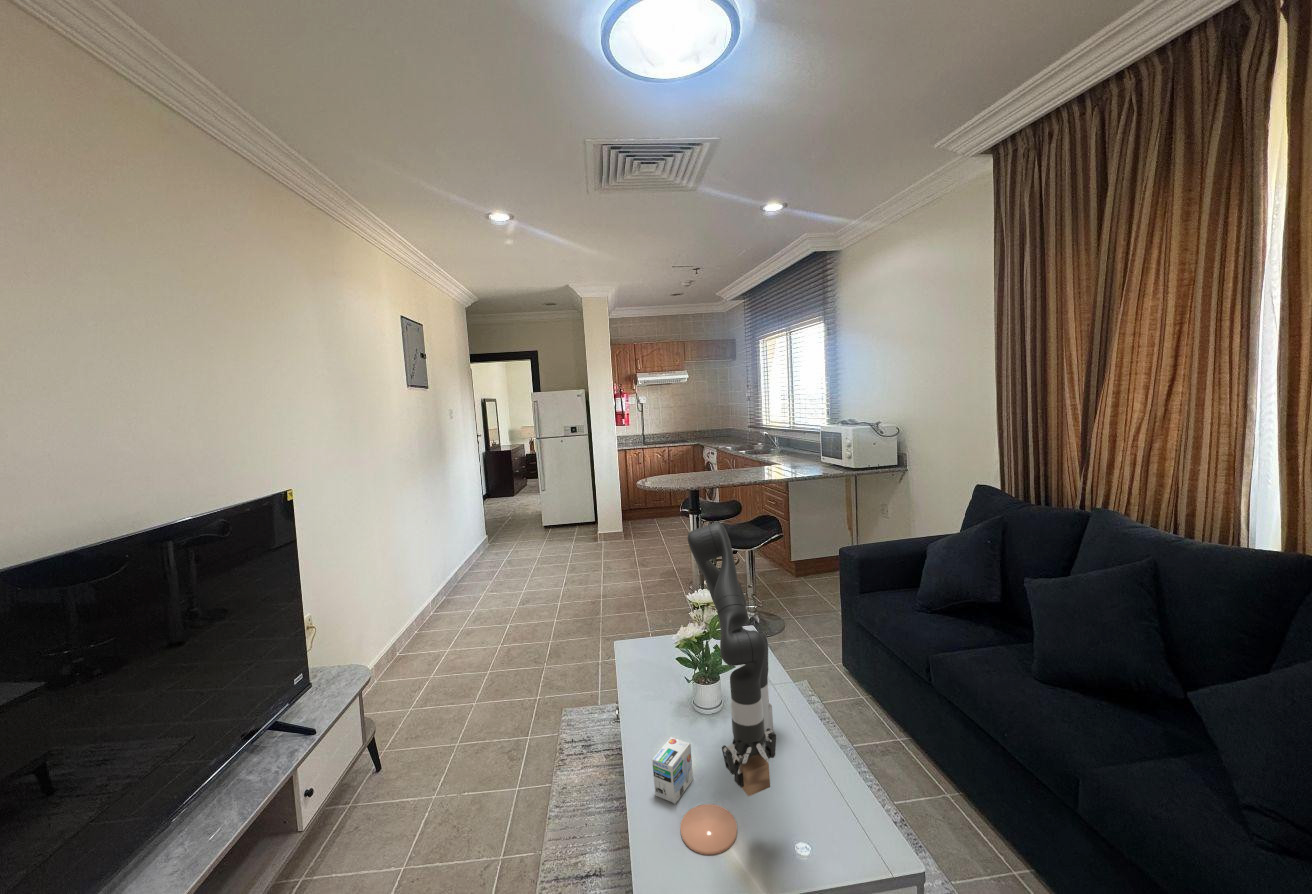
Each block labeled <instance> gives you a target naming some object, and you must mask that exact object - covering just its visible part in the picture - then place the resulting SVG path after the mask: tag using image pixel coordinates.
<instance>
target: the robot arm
mask: <svg viewBox="0 0 1312 894" xmlns="http://www.w3.org/2000/svg"><path fill="white" fill-rule="evenodd" d="M687 543H688V546H689V547H688V548H689V549H690V552H691V554H692V557H693V558H694V560H695V562H696V564H697V567H698V568H699V570H700V572H701V574H702V576H703V578H704V581H705V583H706V586H707V588H708V592H709V594H710V597H711V600H712V602H713V605H714V607H715V610H716V613H717V616H718V621H719V628H720V639H719V640H720V642H719V645H720V646H719V653H720V657H721V659H722V661H723V662H724V663H725V664H726V665H728V666H730V667H737V666H741V667H737V668H736V669H734V670H733V671H732V672H731V674H730V675H729V685H730V699H731V700H730V714H731V729H732V735H733V740H732V743H731V744H730V745H728V746H727V745H726V744H724V745H722V746H721V751H722V756H723V760H724V764H725V768H726V769H727V770H728V771H729V773H730V774H731V775H734V778H733V779H734V782H735V783H736V785H737V786H739V787H740V788H741V787H744V782H743V773H742V770H743V767H744V765H746V763H747V759H748V758H750V757H751V756H754V755H758V754H759V755H760V756H761V757H762V759H765V760H766V761H767V762H768V763H769V761H770V759H774V758H775V757H776V746H777V745H776V743H777V734H776V733H775V732H774V717H773V705H772V704H771V703H770V698H769V697H770V695H769V694H770V693H769V681H768V679H769V678H768V677H769V676H768V675H769V643H768V642H769V641H768V639H767V636H766V635H765V634H764V633H760V632H759V631H757V630H749V629H745V628H744V626H745V625H746V624H747V623H748V621H749V615H748V610H747V608H746V607H747V600H746V596H745V594H744V591H743V589H742V586H741V584H740V582H739V580H738V572H737V567H736V562H735V558H734V553H733V548H732V543H731V539H730V537H729V534H728V531H727V530H726V527H725V526H724V524H723V523H721V522H714V523H710V524H707V525H704V526H701V527H699V528H695V529H692V530H691V531H689V532H688V534H687ZM717 558H721V567H720V568H718V567H717V566H716V565H715V564H714V563H713V562H712V561H711V560H714V559H717ZM764 743H765V745H764ZM763 745H764V747H763ZM741 756H742V757H741ZM733 757H735V759H734V758H733ZM738 762H739V765H738Z"/></svg>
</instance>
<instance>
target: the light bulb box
mask: <svg viewBox="0 0 1312 894" xmlns="http://www.w3.org/2000/svg"><path fill="white" fill-rule="evenodd" d="M651 761H652V771H653V782H654V783H653V784H654V793H655V794H654V795H655V796H656V797H658V798H661V799H662V800H664V801H665V800H666V801H668V802H670V803H672V804H676V803H677V802H678V801H679V800H680V799H681V797H682V796H683V794H684V793H685V791H686V790H687V788H688V787H689V786H690V784H691V783H692V781H693V780H694V773H693V760H692V745H691V742H690V743H689V742H686V741H684V740H681V739H677V738H674V737H672V736H670V737H669V739H668V740H667V741H666V742H665V743H664V745H663V746H662V747H661V748H660V749H659V751H658V752H657V753H656V755H654V756H653V758H652V759H651Z"/></svg>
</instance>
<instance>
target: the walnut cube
mask: <svg viewBox="0 0 1312 894" xmlns="http://www.w3.org/2000/svg"><path fill="white" fill-rule="evenodd" d="M741 757H742V756H741ZM734 759H735V757H733V760H734ZM769 764H770V763H769V762H767V761H766V760H765V759H762V757H761V756H760V755H759V754H758V755H754V756H751V757H750V758H748V759H747V763H746V765H744V767H743V770H742V773H743V782H744V787H740V788H741V790H742V791H744V793H745V794H746V795H747V796H748V797H750V796H753V795H755V794H758V793H760V792H763V791H765V790H766V789H769V788H771V779H770V777H771V776H770V765H769ZM738 765H739V762H738Z"/></svg>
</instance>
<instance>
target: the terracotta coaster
mask: <svg viewBox="0 0 1312 894" xmlns="http://www.w3.org/2000/svg"><path fill="white" fill-rule="evenodd" d="M679 828H680V836H681V838H682V841H683V843H684V844H685V845H686V847H688V848H689V849H690V850H691V851H693V852H695V853H698V854H701V855H705V856H715V855H717V854H718V855H719V854H721V853H723V852H725V851H727V850H729V849H730V848H731V847H732V846H733V844H734V843H735V842H736V840H737V835H738V826H737V821H736V819H735V817H734V815H733V814H732V813H731V812H730V811H729V810H728V809H726V808H724V807H722V806H720V805H717V804H713V803H712V804H709V803H707V804H706V803H705V804H701V805H697V806H694V807H692V808H691V809H689V810H688V811H687V812H686V813H685V814H684V815H683V817H682V819H681V821H680V827H679Z"/></svg>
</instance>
